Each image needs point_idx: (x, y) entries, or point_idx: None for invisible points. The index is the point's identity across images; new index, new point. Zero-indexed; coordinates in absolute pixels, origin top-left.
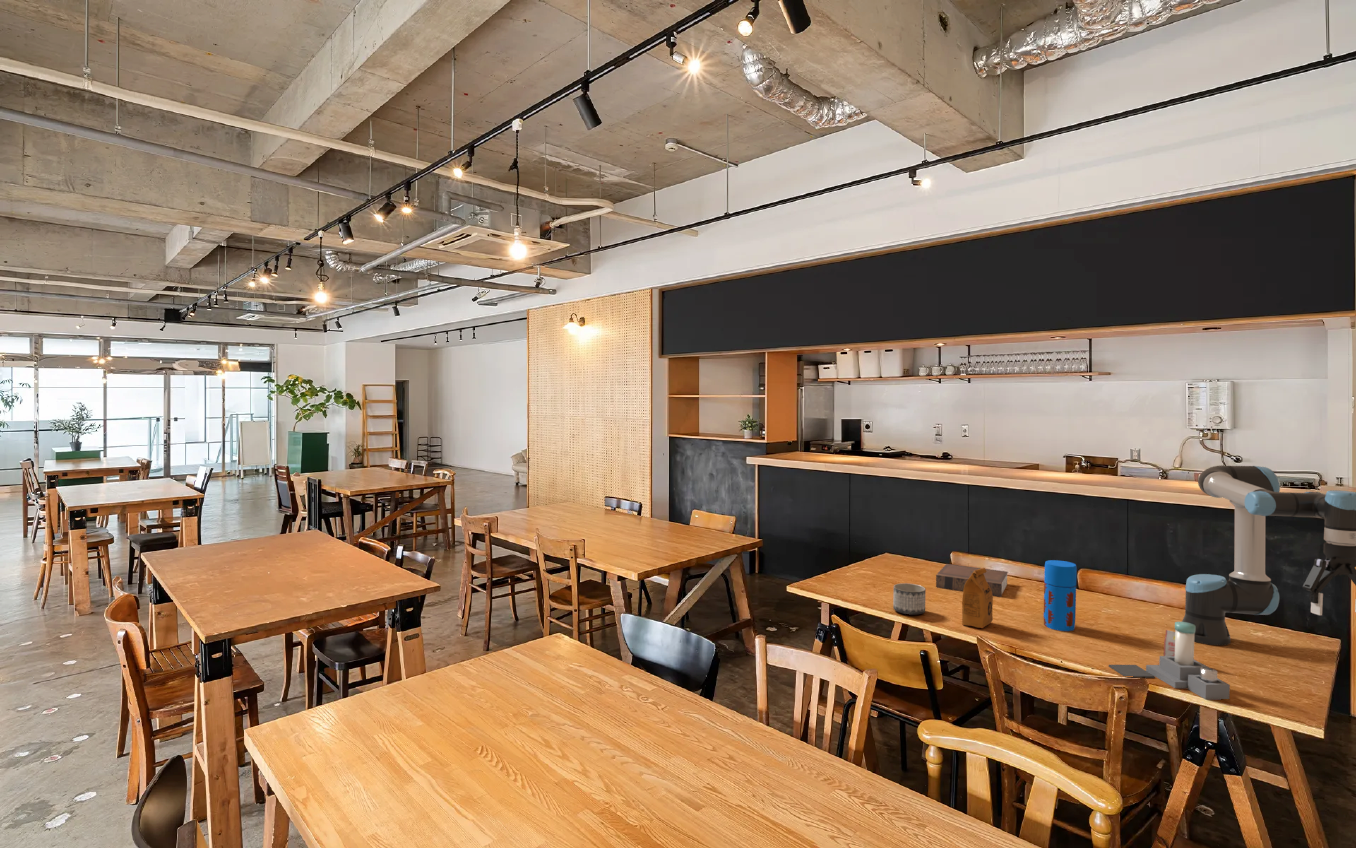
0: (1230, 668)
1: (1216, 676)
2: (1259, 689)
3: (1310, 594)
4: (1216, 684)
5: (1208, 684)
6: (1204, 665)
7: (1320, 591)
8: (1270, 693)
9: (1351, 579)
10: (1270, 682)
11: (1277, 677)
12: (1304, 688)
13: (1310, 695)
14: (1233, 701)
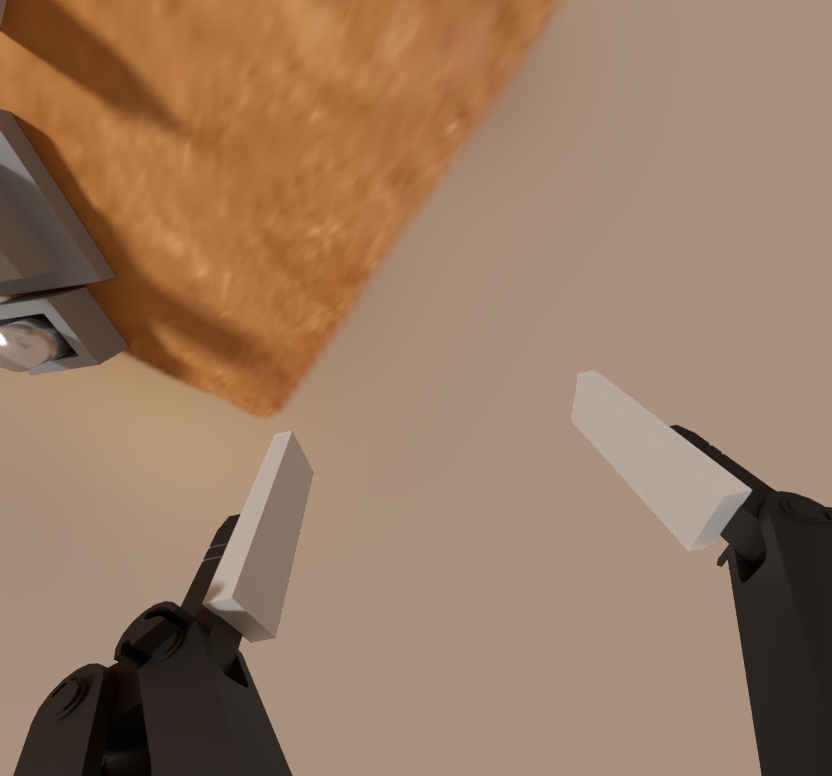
0: (186, 42)
1: (45, 361)
2: (228, 263)
3: (190, 597)
4: (61, 369)
5: (38, 373)
6: (2, 260)
7: (244, 669)
8: (248, 287)
9: (815, 717)
10: (284, 196)
11: (329, 139)
12: (361, 233)
13: (347, 283)
14: (138, 353)
